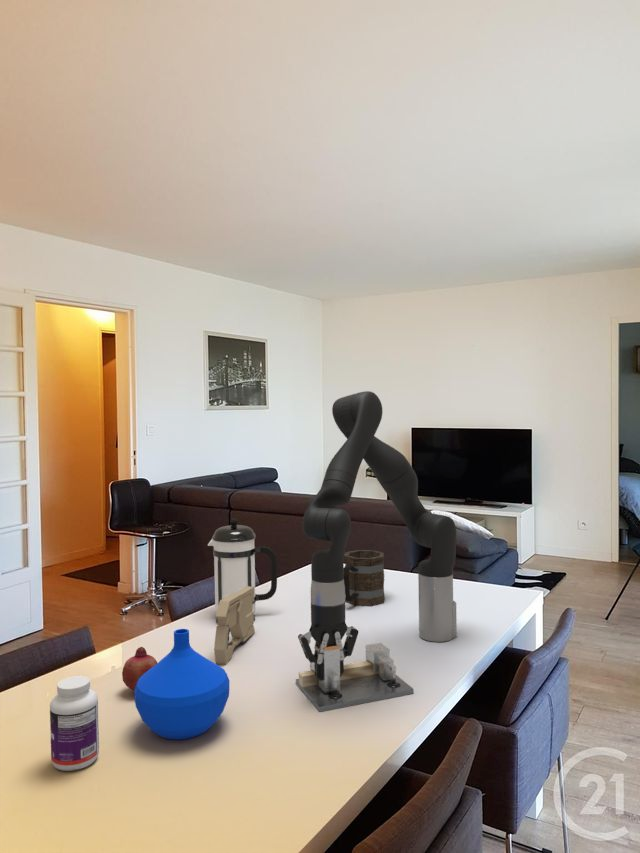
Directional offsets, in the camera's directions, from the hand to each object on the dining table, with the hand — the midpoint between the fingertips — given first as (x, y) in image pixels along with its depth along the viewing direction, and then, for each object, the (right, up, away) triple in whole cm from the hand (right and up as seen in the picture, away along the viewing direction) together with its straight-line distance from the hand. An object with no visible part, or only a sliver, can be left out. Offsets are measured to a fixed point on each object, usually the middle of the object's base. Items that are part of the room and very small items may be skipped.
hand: (329, 677), depth 142 cm
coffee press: (-26, -3, +54) cm, 60 cm away
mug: (+11, -2, +66) cm, 67 cm away
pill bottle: (-46, -5, -26) cm, 53 cm away
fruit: (-42, -4, +3) cm, 42 cm away
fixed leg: (+13, -2, +6) cm, 14 cm away
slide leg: (0, -2, +1) cm, 3 cm away
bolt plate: (+5, -3, +3) cm, 7 cm away
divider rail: (+4, -2, +6) cm, 8 cm away
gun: (-24, -4, +29) cm, 38 cm away
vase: (-29, -5, -14) cm, 32 cm away
